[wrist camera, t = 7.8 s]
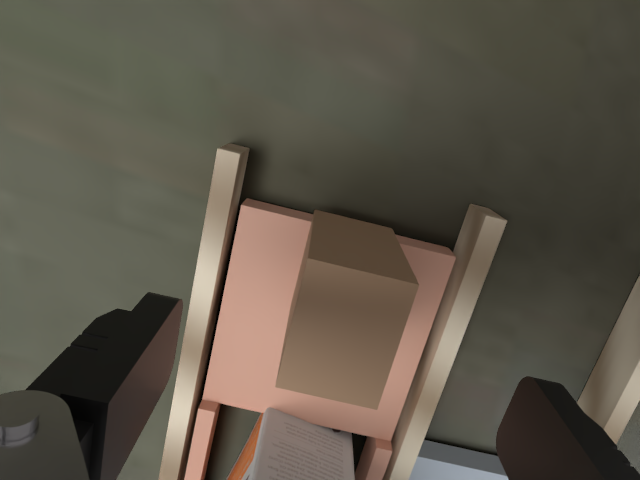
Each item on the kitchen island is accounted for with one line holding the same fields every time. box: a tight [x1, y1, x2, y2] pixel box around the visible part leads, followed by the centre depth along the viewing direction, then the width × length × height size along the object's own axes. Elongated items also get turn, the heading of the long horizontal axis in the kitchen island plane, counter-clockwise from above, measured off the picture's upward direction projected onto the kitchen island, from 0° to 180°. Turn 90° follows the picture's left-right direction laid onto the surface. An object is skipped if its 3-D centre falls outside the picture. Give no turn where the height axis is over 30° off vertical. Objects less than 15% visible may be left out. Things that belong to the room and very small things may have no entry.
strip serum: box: [184, 198, 456, 480], centre depth 17 cm, size 16×8×7 cm, turn 166°
